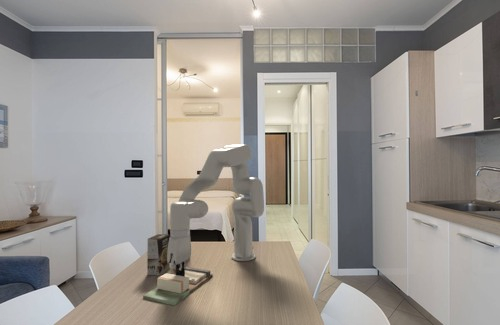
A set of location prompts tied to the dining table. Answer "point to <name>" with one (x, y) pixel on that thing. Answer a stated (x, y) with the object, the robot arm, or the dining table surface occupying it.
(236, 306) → the dining table surface
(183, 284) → the stub
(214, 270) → the dining table surface
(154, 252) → the coffee box
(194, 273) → the board
